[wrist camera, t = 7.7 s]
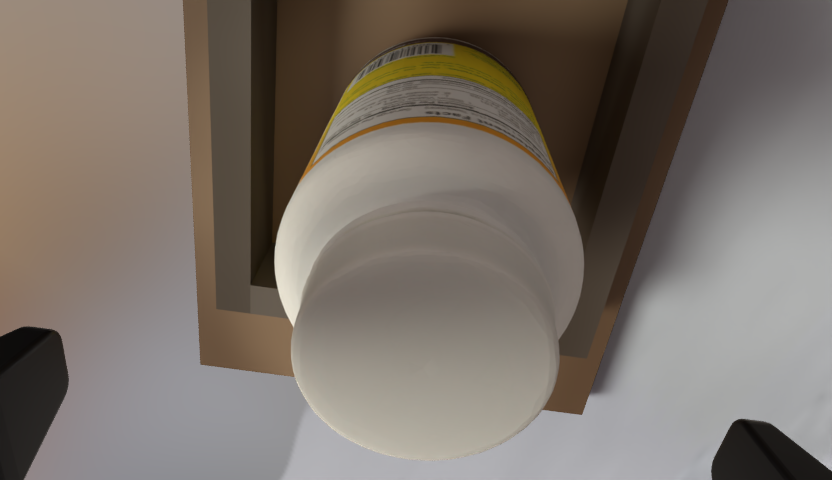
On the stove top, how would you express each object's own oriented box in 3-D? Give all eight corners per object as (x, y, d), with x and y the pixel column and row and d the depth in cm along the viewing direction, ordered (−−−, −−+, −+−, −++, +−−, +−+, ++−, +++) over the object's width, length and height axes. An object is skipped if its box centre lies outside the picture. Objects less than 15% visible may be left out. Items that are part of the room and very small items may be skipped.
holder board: (802, -265, 14) (900, -308, 11) (577, 395, 24) (595, 469, 21) (182, -362, 14) (106, -435, 11) (209, 347, 24) (174, 414, 20)
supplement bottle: (460, 247, 20) (469, 542, 11) (305, 156, 19) (172, 405, 10) (574, 103, 17) (705, 330, 8) (405, -13, 16) (349, 112, 7)
